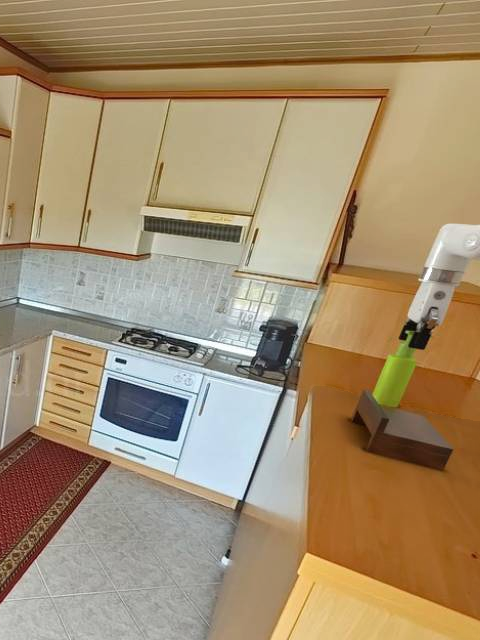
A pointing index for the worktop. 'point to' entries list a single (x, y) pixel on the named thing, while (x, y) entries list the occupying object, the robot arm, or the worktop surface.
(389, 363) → the soap dispenser
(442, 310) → the robot arm
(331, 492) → the worktop surface
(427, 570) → the worktop surface
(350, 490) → the worktop surface
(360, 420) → the wooden toy bed
